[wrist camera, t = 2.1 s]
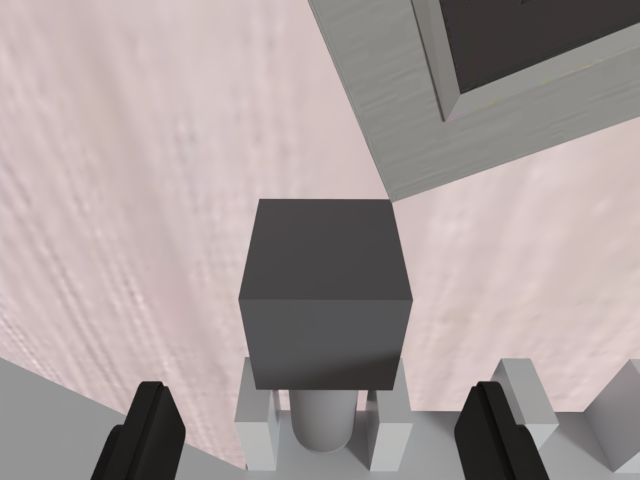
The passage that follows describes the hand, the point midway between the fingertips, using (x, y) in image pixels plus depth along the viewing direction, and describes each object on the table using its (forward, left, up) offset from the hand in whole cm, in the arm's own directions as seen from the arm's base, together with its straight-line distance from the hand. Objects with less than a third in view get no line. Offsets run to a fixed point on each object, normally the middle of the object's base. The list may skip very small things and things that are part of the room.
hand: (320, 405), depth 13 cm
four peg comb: (+12, +7, -6) cm, 15 cm away
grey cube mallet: (+4, 0, -6) cm, 7 cm away
